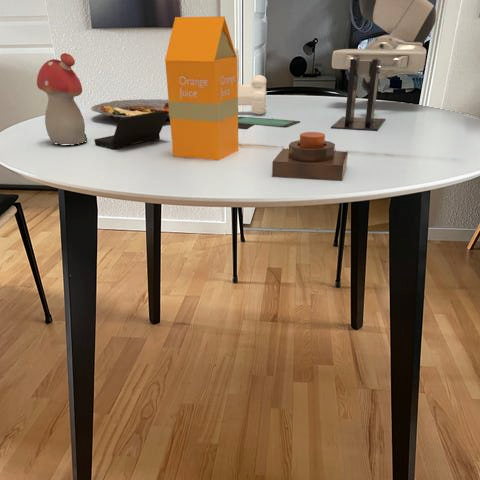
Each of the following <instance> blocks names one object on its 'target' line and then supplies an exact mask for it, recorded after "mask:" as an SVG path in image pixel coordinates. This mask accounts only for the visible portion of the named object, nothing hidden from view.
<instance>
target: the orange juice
mask: <svg viewBox="0 0 480 480" xmlns="http://www.w3.org/2000/svg"><path fill="white" fill-rule="evenodd" d="M234 49H235V47H234V44H233V41H232V37H231V34H230V31H229V27H228V24H227V20H226V16H174V21H173V25H172V28H171V34H170V37H169V41H168V45H167V50H166V54H165V58H164V62H165V74H166V86H167V100H169V101H168V104H169V116H170V118H169V123H170V136H171V143H172V144H171V146H172V147H171V148H172V156H173V157H179V158H188V159H202V160H211V161H221V160H222V159H225V158H227V157H228V156H231V155H234V153H236V152H238V151H239V128H238V117H239V105H238V87H237V57H236V54H235V51H234Z"/></svg>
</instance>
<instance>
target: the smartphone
mask: <svg viewBox="0 0 480 480" xmlns="http://www.w3.org/2000/svg"><path fill="white" fill-rule="evenodd" d="M300 123H301V121H300V120H294V119H279V118H268V117H267V118H266V117H254V116H238V129H244V130H245V129H246V130H249V129H250V128H252V127H253V126H254V127H255V126H262V127H272V128H273V127H274V128H281V129H282V128H283V129H285V128H286V129H287V128H289V127H293V126H295V125H297V124H300Z"/></svg>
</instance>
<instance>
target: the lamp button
mask: <svg viewBox="0 0 480 480" xmlns="http://www.w3.org/2000/svg"><path fill="white" fill-rule="evenodd" d="M299 140H300V145H299V146H301V147H309V148H317V147H324V145H325V141H326V133H323V132H321V131H320V132H319V131H318V132H317V131H305V132H301V133H299Z"/></svg>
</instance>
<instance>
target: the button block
mask: <svg viewBox="0 0 480 480" xmlns="http://www.w3.org/2000/svg"><path fill="white" fill-rule="evenodd" d="M299 145H300V139H298V140H295V141H291V142H290V143H288V148H282V149H281V150H280V151H279V152H278V154H277V155H276V157H275V158H274V159H273V160H272V161H271V162H272V164H271V166H272V167H271V168H272V169H271V178H284V179H285V178H286V179H301V180H302V179H303V180H319V181H334V182H335V181H338V182H342V181H343V179H344V176H345V172H346V170H347V165H348V155H349V152H348V151H344V150H343V151H341V150H338V151H337V150H336V143H334V142H333V141H329V140H325V145H324V147H317V148H309V147H301V146H299Z"/></svg>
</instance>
